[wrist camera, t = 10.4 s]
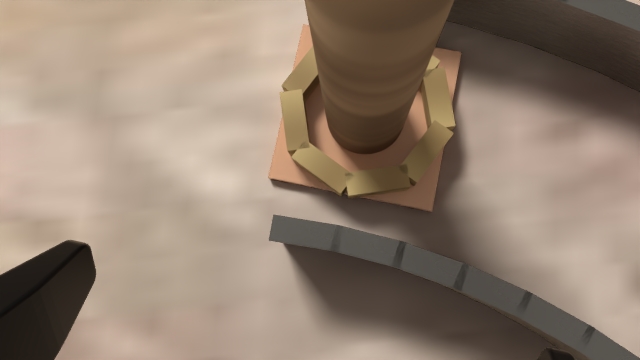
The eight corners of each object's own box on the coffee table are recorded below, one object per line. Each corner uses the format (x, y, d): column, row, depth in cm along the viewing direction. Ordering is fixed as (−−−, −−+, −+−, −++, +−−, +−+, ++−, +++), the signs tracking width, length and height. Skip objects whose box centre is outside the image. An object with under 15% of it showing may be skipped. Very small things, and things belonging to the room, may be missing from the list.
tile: (430, 211, 23) (432, 210, 23) (269, 178, 24) (268, 177, 23) (459, 55, 24) (461, 52, 24) (304, 28, 25) (303, 24, 24)
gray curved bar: (724, 399, 21) (809, 432, 17) (247, 291, 23) (225, 299, 19) (759, 50, 23) (843, 8, 19) (318, -23, 25) (312, -75, 21)
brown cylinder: (459, 182, 23) (599, 88, 10) (297, 206, 23) (228, 144, 10) (431, 29, 24) (524, -234, 11) (276, 53, 24) (192, -175, 11)
